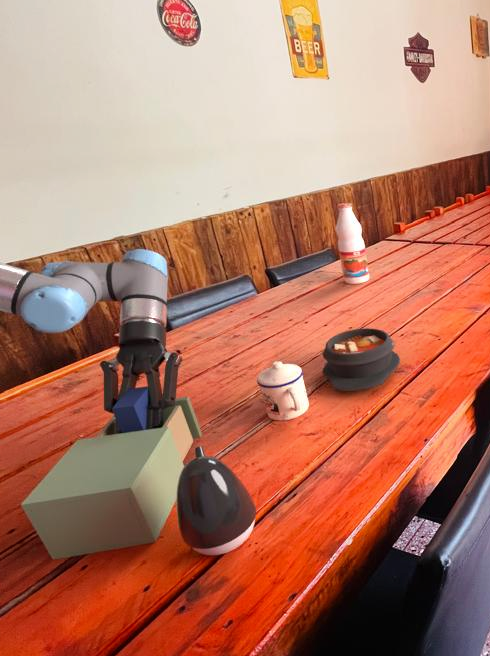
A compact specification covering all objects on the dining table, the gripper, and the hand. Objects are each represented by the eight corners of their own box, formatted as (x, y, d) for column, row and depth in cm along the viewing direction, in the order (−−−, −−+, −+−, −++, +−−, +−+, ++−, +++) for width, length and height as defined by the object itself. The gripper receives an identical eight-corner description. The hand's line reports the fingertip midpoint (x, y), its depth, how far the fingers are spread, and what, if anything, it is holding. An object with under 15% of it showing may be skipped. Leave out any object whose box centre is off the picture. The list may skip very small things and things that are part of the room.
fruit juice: (366, 274, 197) (354, 200, 184) (372, 281, 189) (361, 204, 177) (341, 279, 193) (328, 203, 181) (347, 286, 185) (333, 207, 173)
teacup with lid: (260, 410, 111) (246, 363, 106) (300, 394, 116) (289, 349, 111) (281, 433, 103) (268, 383, 98) (323, 415, 108) (312, 366, 103)
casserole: (401, 392, 115) (396, 359, 111) (317, 402, 113) (309, 369, 109) (400, 345, 137) (397, 317, 134) (330, 353, 135) (324, 324, 132)
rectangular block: (135, 462, 92) (111, 408, 87) (150, 439, 98) (129, 388, 93) (155, 459, 93) (133, 405, 87) (169, 436, 99) (149, 385, 94)
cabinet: (101, 489, 90) (77, 439, 85) (188, 476, 92) (168, 426, 87) (52, 559, 76) (20, 504, 71) (155, 542, 78) (130, 487, 73)
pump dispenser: (257, 506, 84) (233, 430, 78) (266, 548, 76) (240, 467, 69) (189, 530, 80) (157, 452, 73) (190, 578, 72) (154, 495, 65)
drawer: (140, 432, 104) (124, 395, 100) (208, 422, 106) (195, 385, 102) (96, 494, 88) (75, 452, 84) (178, 481, 89) (161, 440, 86)
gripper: (197, 329, 103) (197, 444, 95) (107, 339, 100) (100, 458, 93) (180, 314, 96) (178, 437, 88) (83, 324, 93) (73, 452, 86)
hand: (138, 448), depth 91 cm, fingers closed on rectangular block, 3 cm apart
